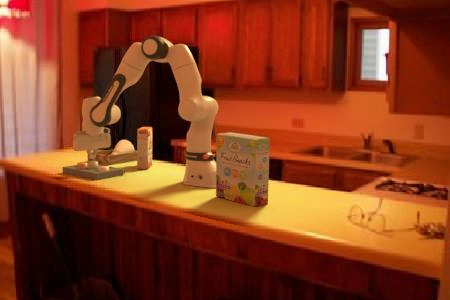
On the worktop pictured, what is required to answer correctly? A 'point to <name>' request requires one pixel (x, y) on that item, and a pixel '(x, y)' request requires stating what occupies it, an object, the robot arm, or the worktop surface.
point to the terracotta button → (82, 164)
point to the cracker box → (144, 147)
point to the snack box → (242, 168)
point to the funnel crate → (113, 157)
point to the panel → (93, 172)
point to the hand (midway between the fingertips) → (92, 158)
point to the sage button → (92, 164)
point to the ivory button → (103, 168)
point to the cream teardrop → (123, 147)
